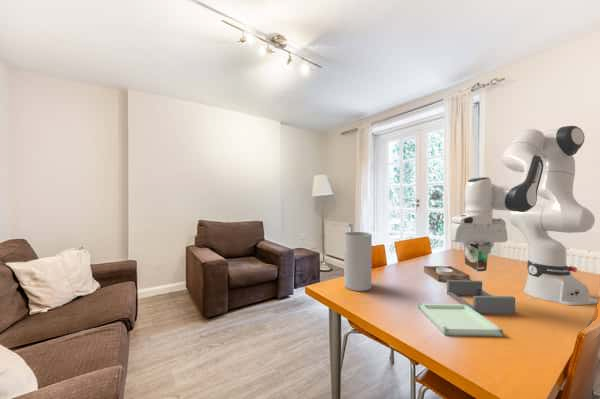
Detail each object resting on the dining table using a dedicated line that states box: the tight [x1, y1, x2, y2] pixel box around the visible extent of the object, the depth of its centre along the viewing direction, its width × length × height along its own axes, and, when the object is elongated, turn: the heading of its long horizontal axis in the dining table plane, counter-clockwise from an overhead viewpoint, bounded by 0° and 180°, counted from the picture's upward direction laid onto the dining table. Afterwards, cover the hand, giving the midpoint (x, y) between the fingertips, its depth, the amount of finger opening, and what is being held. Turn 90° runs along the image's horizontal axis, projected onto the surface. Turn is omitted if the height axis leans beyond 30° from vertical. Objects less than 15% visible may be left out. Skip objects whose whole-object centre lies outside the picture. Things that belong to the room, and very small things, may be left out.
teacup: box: [436, 267, 453, 274], centre depth 123 cm, size 10×10×5 cm
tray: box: [417, 302, 504, 337], centre depth 80 cm, size 17×17×2 cm
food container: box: [463, 242, 490, 272], centre depth 93 cm, size 12×6×10 cm, turn 169°
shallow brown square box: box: [423, 265, 471, 283], centre depth 124 cm, size 15×15×4 cm
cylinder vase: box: [343, 231, 373, 292], centre depth 111 cm, size 12×12×25 cm
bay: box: [446, 280, 516, 315], centre depth 93 cm, size 14×17×6 cm
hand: (478, 253), depth 93 cm, fingers closed on food container, 6 cm apart
